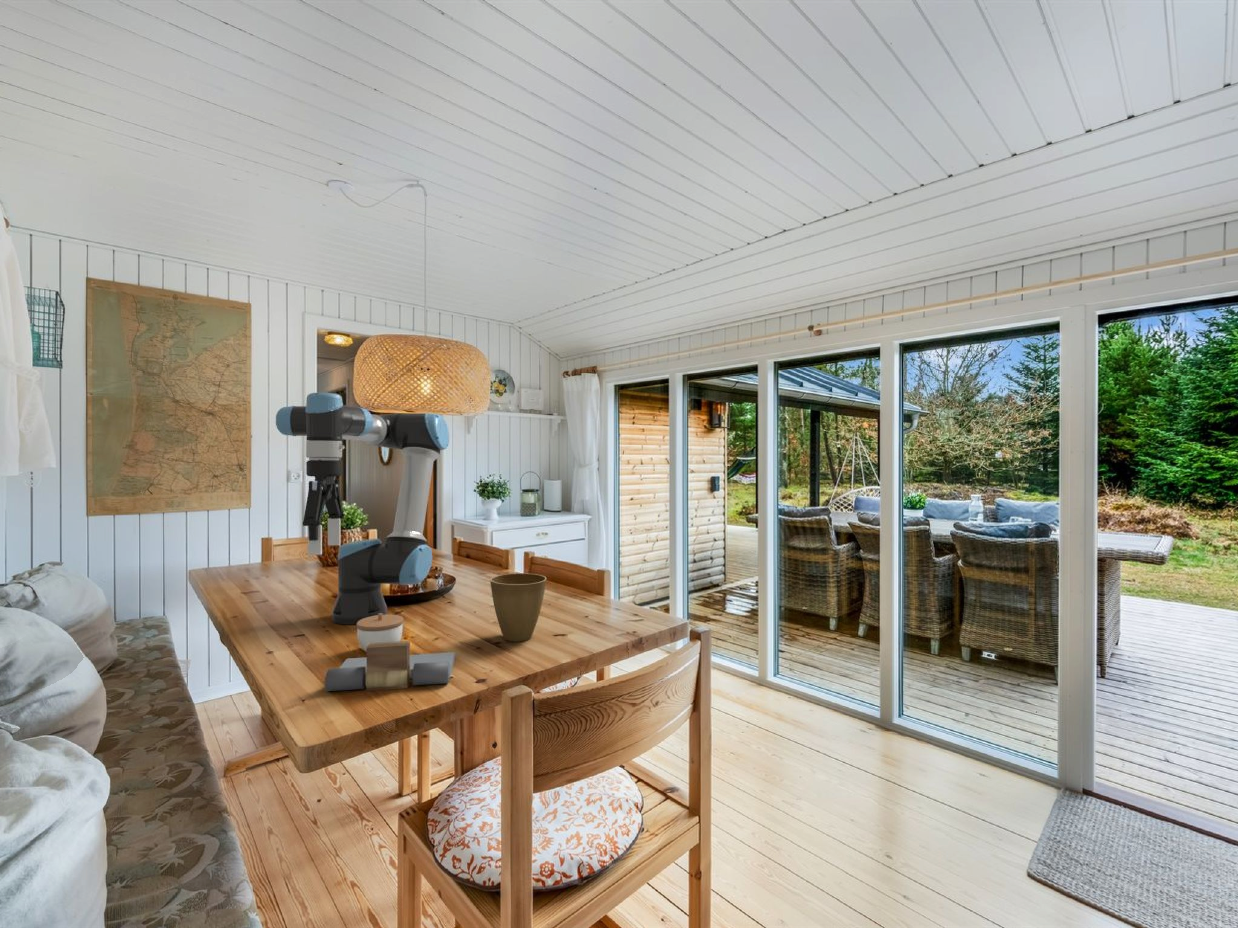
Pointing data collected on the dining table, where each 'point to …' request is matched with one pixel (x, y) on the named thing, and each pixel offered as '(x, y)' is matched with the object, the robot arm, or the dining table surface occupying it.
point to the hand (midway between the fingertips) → (324, 549)
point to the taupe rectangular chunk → (388, 665)
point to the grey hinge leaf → (421, 671)
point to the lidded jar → (379, 629)
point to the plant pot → (517, 603)
